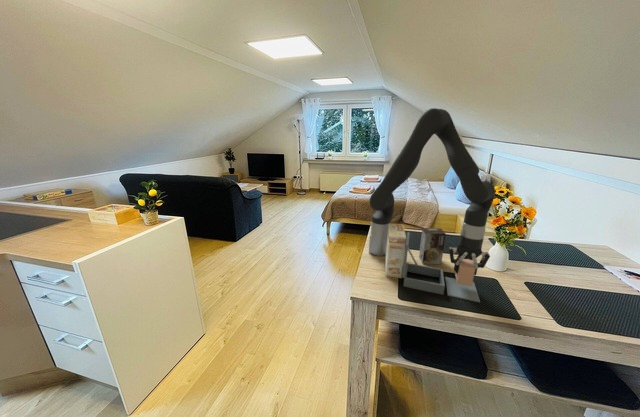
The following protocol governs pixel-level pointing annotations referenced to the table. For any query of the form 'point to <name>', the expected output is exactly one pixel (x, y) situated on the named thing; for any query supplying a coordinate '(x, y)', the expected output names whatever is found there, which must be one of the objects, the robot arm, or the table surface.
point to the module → (465, 272)
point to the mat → (461, 290)
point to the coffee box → (432, 245)
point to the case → (421, 270)
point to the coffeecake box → (395, 250)
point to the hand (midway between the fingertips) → (464, 273)
